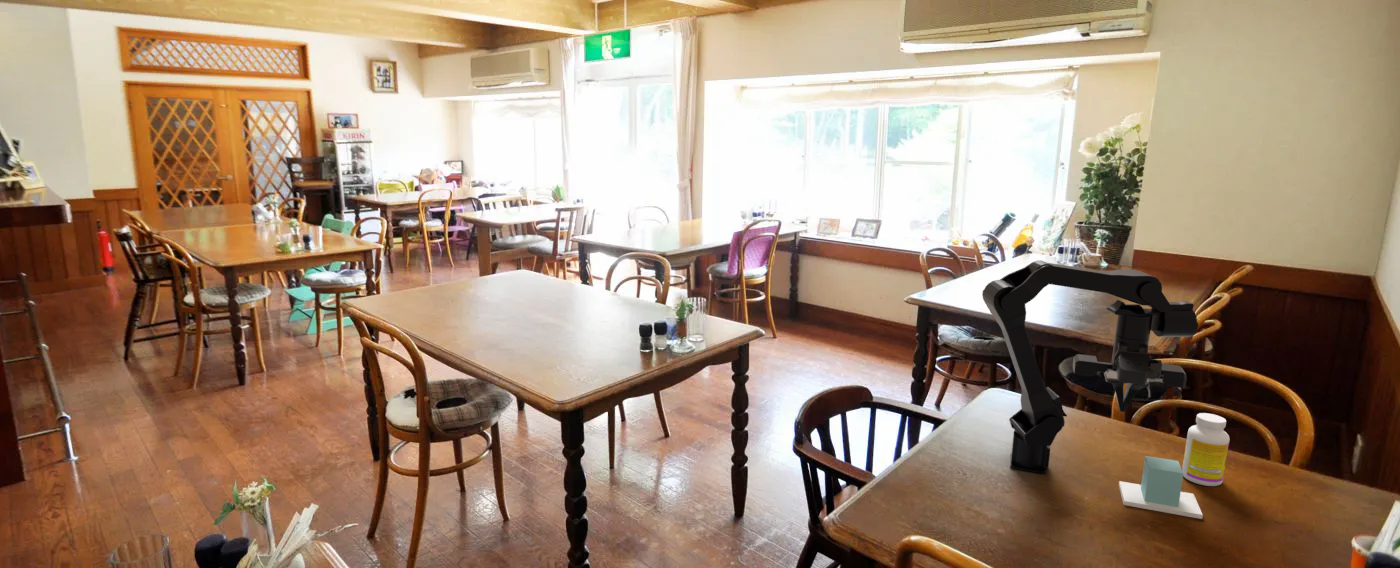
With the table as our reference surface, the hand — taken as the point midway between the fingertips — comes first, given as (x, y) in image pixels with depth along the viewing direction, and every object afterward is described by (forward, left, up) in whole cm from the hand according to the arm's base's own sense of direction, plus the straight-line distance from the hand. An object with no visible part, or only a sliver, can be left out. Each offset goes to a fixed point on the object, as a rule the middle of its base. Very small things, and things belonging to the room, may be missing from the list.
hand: (1121, 411), depth 143 cm
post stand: (+6, -12, -12) cm, 18 cm away
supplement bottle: (+15, +1, -12) cm, 19 cm away
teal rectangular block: (+6, -12, -11) cm, 18 cm away
